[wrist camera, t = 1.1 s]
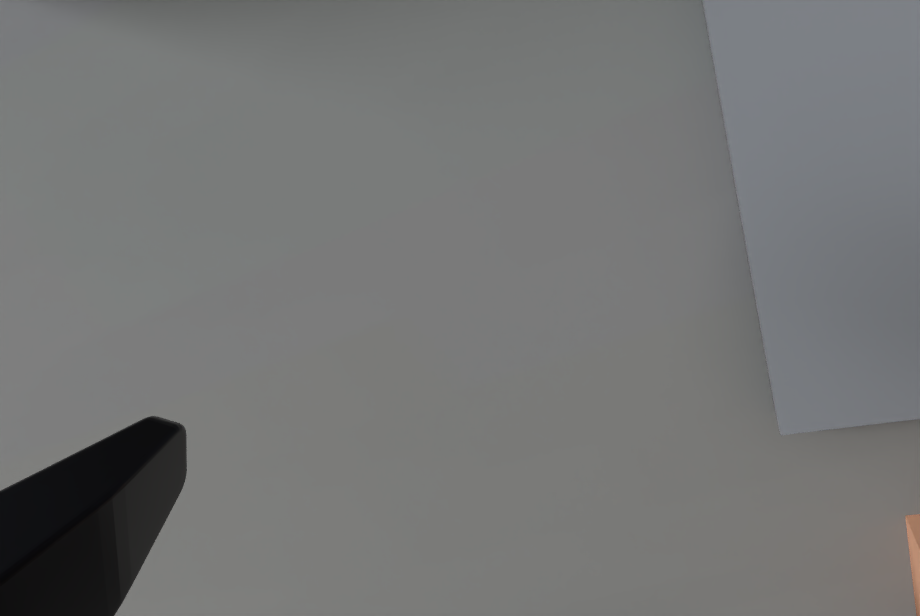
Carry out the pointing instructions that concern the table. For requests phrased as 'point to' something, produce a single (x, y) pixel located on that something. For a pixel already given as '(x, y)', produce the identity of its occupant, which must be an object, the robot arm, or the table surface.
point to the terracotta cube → (914, 554)
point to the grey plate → (828, 198)
